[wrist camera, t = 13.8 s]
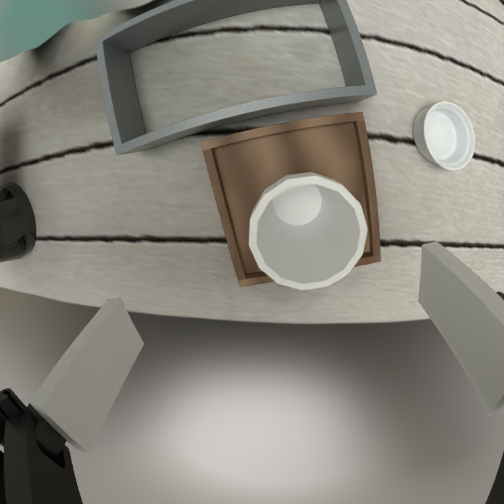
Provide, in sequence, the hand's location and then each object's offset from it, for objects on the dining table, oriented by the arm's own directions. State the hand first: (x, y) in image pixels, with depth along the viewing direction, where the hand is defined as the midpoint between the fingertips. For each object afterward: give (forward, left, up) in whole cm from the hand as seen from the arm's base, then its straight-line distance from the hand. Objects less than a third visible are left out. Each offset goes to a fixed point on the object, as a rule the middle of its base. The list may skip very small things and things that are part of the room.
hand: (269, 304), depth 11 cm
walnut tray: (+3, -2, -25) cm, 25 cm away
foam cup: (+3, -2, -24) cm, 24 cm away
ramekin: (+24, +4, -25) cm, 35 cm away
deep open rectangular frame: (-1, +17, -25) cm, 30 cm away
